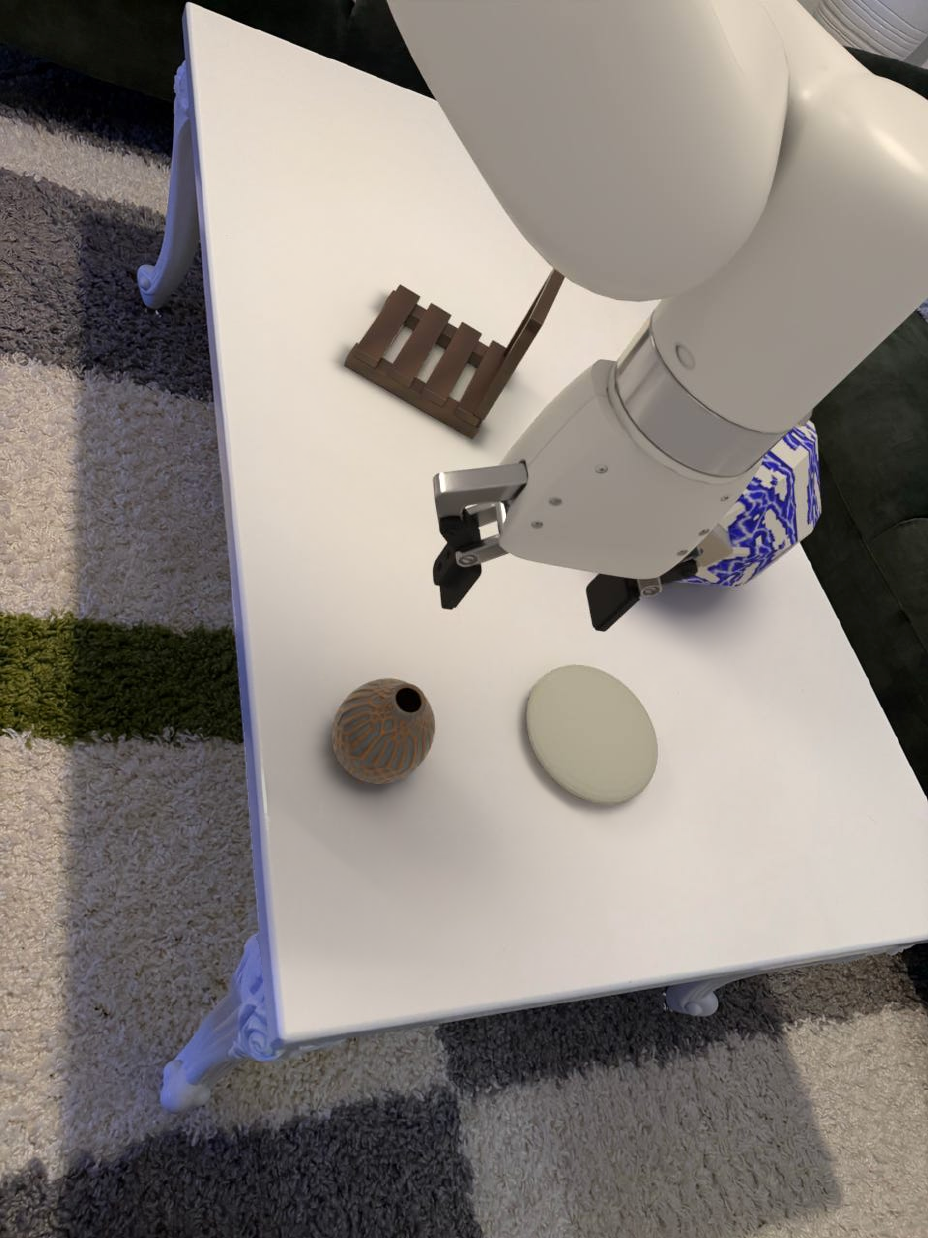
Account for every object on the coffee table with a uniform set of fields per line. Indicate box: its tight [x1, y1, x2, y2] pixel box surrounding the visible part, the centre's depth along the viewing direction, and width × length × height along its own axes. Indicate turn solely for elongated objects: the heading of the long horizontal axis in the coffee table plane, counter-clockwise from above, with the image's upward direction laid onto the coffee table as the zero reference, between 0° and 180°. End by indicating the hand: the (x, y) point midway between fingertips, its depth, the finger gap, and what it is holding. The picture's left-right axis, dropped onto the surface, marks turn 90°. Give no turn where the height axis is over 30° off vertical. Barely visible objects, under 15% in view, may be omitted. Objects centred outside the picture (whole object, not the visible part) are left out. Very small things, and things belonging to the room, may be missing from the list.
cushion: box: [525, 664, 659, 805], centre depth 71 cm, size 12×12×3 cm
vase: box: [331, 677, 436, 785], centre depth 61 cm, size 7×7×9 cm
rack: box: [343, 267, 566, 440], centre depth 82 cm, size 14×12×15 cm
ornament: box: [674, 420, 822, 588], centre depth 82 cm, size 20×20×20 cm
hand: (521, 599), depth 51 cm, fingers open, 9 cm apart
